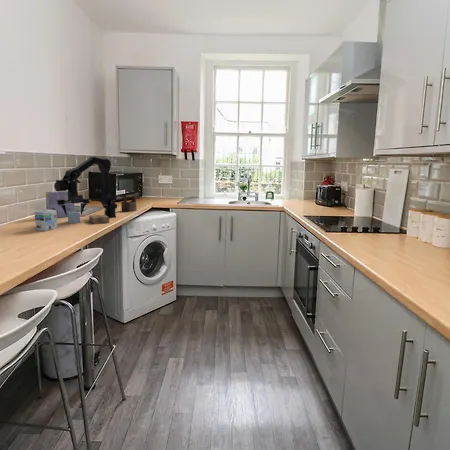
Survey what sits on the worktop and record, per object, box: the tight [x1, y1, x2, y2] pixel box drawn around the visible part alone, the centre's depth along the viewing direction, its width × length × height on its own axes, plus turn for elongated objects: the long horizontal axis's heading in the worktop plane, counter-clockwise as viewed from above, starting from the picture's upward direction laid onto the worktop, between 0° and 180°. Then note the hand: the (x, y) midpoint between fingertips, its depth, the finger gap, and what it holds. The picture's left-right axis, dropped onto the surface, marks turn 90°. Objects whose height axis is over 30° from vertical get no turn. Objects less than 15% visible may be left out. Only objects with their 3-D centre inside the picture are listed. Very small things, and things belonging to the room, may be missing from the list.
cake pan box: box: [45, 190, 76, 219], centre depth 248 cm, size 19×5×18 cm, turn 145°
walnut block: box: [88, 214, 110, 225], centre depth 234 cm, size 10×10×4 cm
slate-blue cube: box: [67, 211, 81, 224], centre depth 231 cm, size 6×6×6 cm
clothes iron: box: [120, 192, 140, 213], centre depth 286 cm, size 8×16×13 cm, turn 154°
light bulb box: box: [34, 208, 58, 232], centre depth 208 cm, size 11×7×11 cm, turn 168°
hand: (73, 214), depth 231 cm, fingers open, 9 cm apart
